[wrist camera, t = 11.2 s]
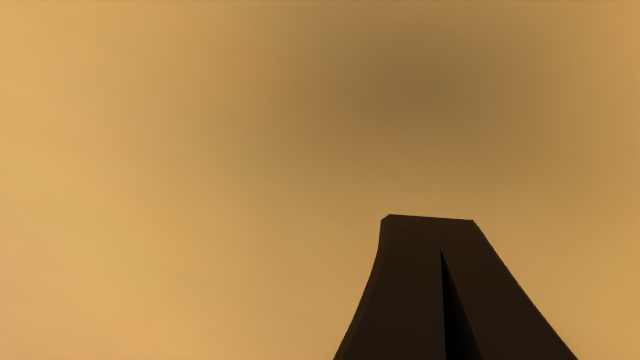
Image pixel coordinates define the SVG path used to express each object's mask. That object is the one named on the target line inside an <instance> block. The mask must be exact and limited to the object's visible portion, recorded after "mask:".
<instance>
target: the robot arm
mask: <svg viewBox="0 0 640 360" xmlns="http://www.w3.org/2000/svg"><path fill="white" fill-rule="evenodd" d="M333 360H578V359H577V358H576V356H575V355H574V354H573V353H572V352H571V350H570V349H569V348H568V347H567V346H566V344H565V343H564V342H563V341H562V339H561V338H560V337H559V336H558V334H557V333H556V332H555V331H554V329H553V328H552V327H551V325H550V324H549V323H548V322H547V320H546V319H545V318H544V317H543V315H542V314H541V313H540V311H539V310H538V309H537V308H536V306H535V305H534V304H533V303H532V301H531V300H530V299H529V297H528V296H527V295H526V293H525V292H524V291H523V289H522V288H521V286H520V285H519V284H518V282H517V281H516V280H515V278H514V277H513V275H512V274H511V273H510V271H509V270H508V268H507V267H506V266H505V264H504V263H503V261H502V260H501V259H500V257H499V256H498V254H497V253H496V251H495V250H494V249H493V247H492V246H491V244H490V243H489V241H488V240H487V238H486V237H485V235H484V234H483V232H482V231H481V230H480V228H479V227H478V226H477V224H476V223H475V222H474V221H473V220H464V219H450V218H436V217H422V216H407V215H393V214H389V215H388V216H386V217H385V218H383V219H382V220H381V226H380V235H379V244H378V251H377V255H376V258H375V261H374V265H373V268H372V271H371V274H370V277H369V280H368V282H367V285H366V287H365V290H364V292H363V295H362V298H361V300H360V303H359V305H358V308H357V310H356V313H355V315H354V317H353V319H352V322H351V324H350V326H349V328H348V330H347V332H346V334H345V336H344V338H343V340H342V342H341V344H340V346H339V348H338V350H337V353H336V355H335V357H334V359H333Z"/></svg>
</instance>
